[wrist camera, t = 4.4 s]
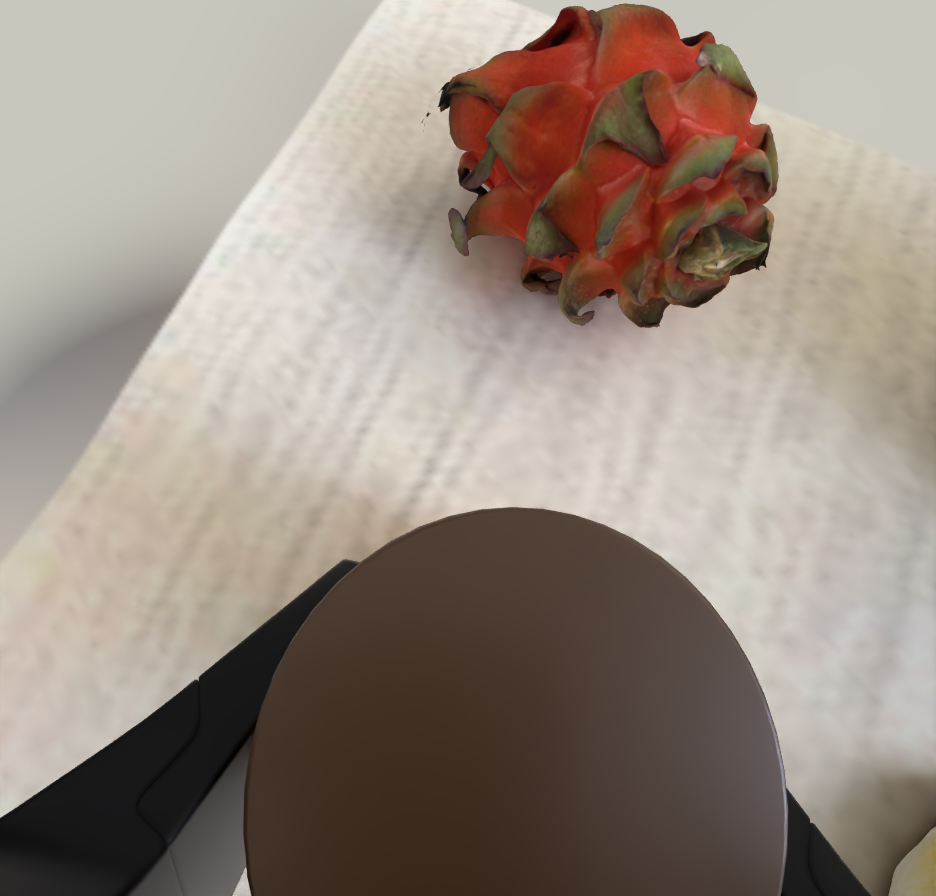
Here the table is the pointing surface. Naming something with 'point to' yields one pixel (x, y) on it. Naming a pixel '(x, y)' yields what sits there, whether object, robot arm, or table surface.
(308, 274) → the table surface
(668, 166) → the dragon fruit
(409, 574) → the tube
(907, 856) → the bread roll
